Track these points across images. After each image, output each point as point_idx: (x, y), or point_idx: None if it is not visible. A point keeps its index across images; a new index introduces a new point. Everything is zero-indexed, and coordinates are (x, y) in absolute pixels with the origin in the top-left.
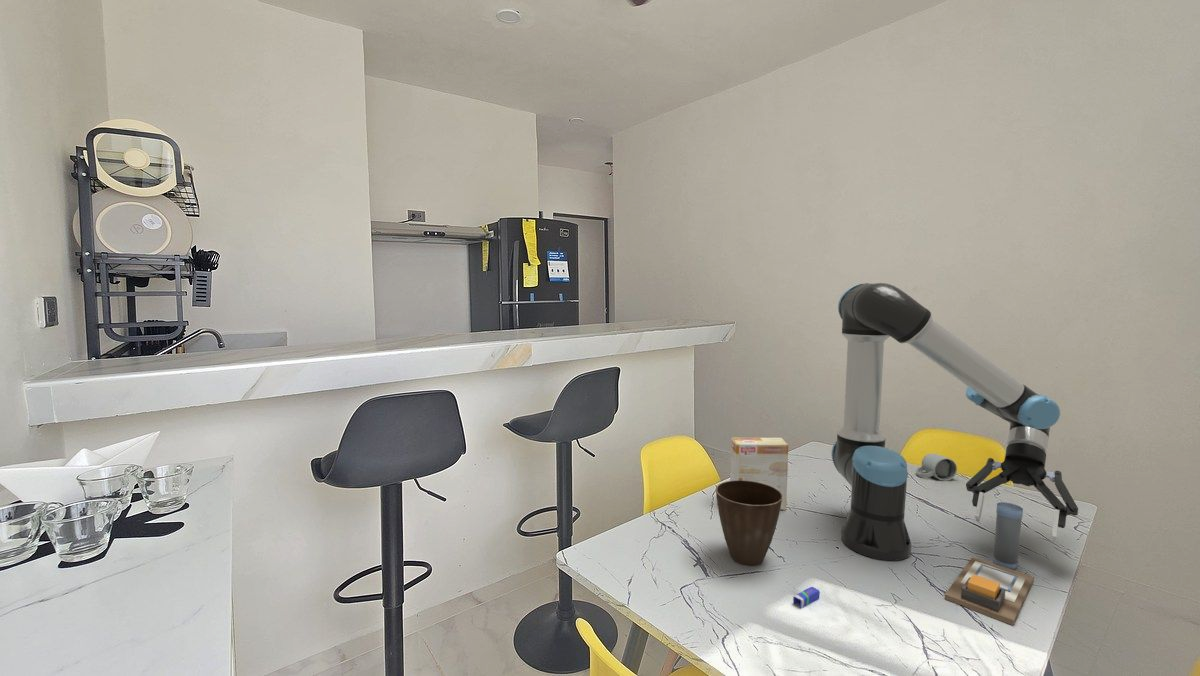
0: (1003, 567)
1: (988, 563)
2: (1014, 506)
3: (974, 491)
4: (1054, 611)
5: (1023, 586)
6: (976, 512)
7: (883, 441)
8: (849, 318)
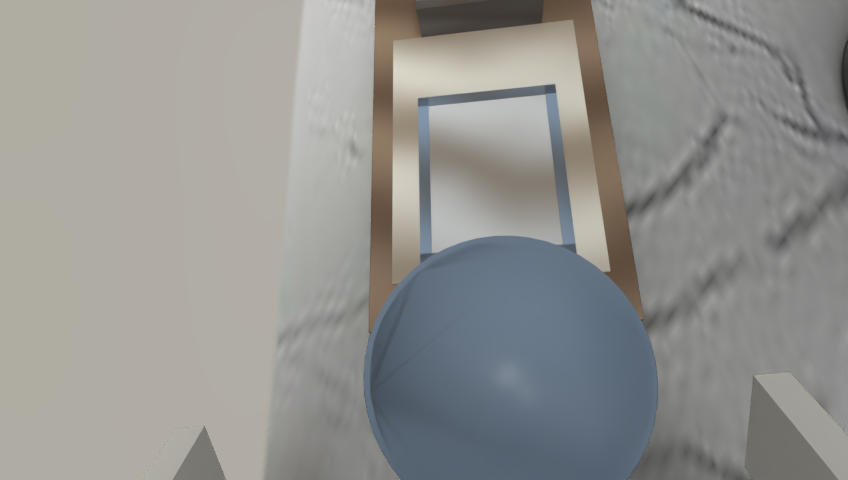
0: None
1: None
2: (462, 424)
3: None
4: (291, 139)
5: (388, 192)
6: (808, 403)
7: None
8: None
